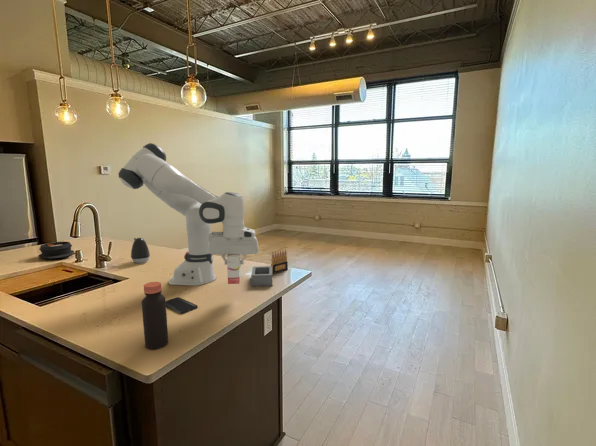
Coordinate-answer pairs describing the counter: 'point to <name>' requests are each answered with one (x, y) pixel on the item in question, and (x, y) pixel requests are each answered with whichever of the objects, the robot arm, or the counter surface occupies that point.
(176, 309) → the phone
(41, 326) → the counter surface
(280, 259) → the ammunition clip
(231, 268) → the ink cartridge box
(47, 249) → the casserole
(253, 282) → the box
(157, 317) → the bottle
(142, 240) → the dark grey egg shape
